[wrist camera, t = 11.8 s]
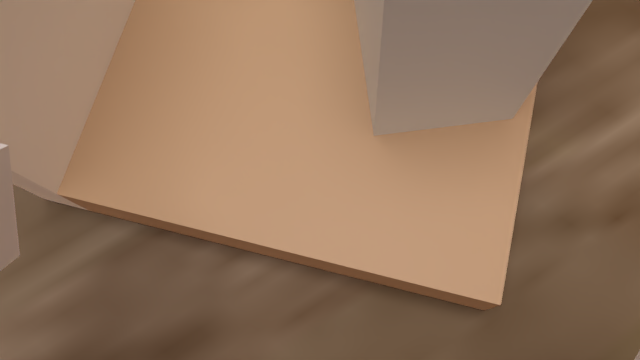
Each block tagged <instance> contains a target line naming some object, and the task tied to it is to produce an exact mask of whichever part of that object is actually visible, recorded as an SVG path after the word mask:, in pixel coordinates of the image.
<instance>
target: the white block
mask: <svg viewBox="0 0 640 360" xmlns="http://www.w3.org/2000/svg"><path fill="white" fill-rule="evenodd" d="M591 2H592V0H354V3H355V10H356V17H357V24H358V31H359V38H360V45H361V51H362V58H363V65H364V72H365V79H366V86H367V93H368V99H369V106H370V113H371V120H372V127H373V134H374V136H376V135H384V134H392V133H400V132H408V131H416V130H425V129H433V128H441V127H449V126H457V125H465V124H473V123H481V122H490V121H498V120H506V119H513V117H514V116H515V114H516V113H517V111H518V110H519V108H520V107H521V105H522V104H523V103H524V101H525V100H526V98H527V97H528V95H529V94H530V92H531V91H532V89H533V88H534V86H535V85H536V83H537V82H538V80H539V79H540V77H541V76H542V74H543V73H544V71H545V70H546V68H547V67H548V65H549V64H550V63H551V61H552V60H553V58H554V57H555V55H556V54H557V52H558V51H559V49H560V48H561V46H562V45H563V43H564V42H565V40H566V39H567V37H568V36H569V34H570V33H571V31H572V30H573V28H574V27H575V26H576V24H577V23H578V21H579V20H580V18H581V17H582V15H583V14H584V12H585V11H586V9H587V8H588V6H589V5H590V3H591Z"/></svg>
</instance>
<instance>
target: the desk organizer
mask: <svg viewBox="0 0 640 360" xmlns="http://www.w3.org/2000/svg"><path fill="white" fill-rule="evenodd" d="M536 88H537V83H536V85H535V86H534V88H533V89H532V91H531V92H530V94H529V95H528V97H527V98H526V100H525V101H524V103H523V104H522V105H521V107H520V108H519V110H518V111H517V113H516V114H515V116H514V117H513V119H506V120H498V121H490V122H481V123H473V124H465V125H457V126H449V127H441V128H433V129H425V130H416V131H408V132H400V133H392V134H384V135H376V136H374V134H373V127H372V120H371V113H370V106H369V99H368V93H367V86H366V79H365V72H364V65H363V58H362V51H361V45H360V38H359V31H358V24H357V17H356V10H355V3H354V0H0V143H1V144H5V145H9V154H10V164H11V174H12V183H13V184H14V185H16V186H18V187H20V188H22V189H24V190H26V191H28V192H30V193H32V194H35V195H37V196H39V197H41V198H43V199H45V200H49V201H53V202H57V203H61V204H65V205H69V206H73V207H77V208H81V209H85V210H89V211H93V212H97V213H101V214H105V215H109V216H113V217H116V218H120V219H124V220H128V221H132V222H136V223H140V224H144V225H148V226H152V227H156V228H160V229H164V230H168V231H172V232H176V233H180V234H184V235H188V236H192V237H196V238H200V239H203V240H207V241H211V242H215V243H219V244H223V245H227V246H231V247H235V248H239V249H243V250H247V251H251V252H255V253H259V254H263V255H267V256H271V257H275V258H279V259H283V260H287V261H290V262H294V263H298V264H302V265H306V266H310V267H314V268H318V269H322V270H326V271H330V272H334V273H338V274H342V275H346V276H350V277H354V278H358V279H362V280H366V281H370V282H373V283H377V284H381V285H385V286H389V287H393V288H397V289H401V290H405V291H409V292H413V293H417V294H421V295H425V296H429V297H433V298H437V299H441V300H445V301H449V302H453V303H457V304H460V305H464V306H468V307H472V308H476V309H480V310H487V309H490V308H494V307H497V306H500V305H501V301H502V295H503V289H504V283H505V277H506V271H507V264H508V258H509V252H510V246H511V240H512V234H513V228H514V222H515V216H516V210H517V204H518V198H519V192H520V186H521V179H522V173H523V167H524V161H525V155H526V149H527V143H528V137H529V131H530V125H531V119H532V113H533V107H534V100H535V94H536Z"/></svg>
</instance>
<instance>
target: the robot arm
mask: <svg viewBox="0 0 640 360" xmlns="http://www.w3.org/2000/svg"><path fill="white" fill-rule="evenodd" d="M19 256H20V251H19V241H18V232H17V222H16V212H15V203H14V193H13V183H12V174H11V164H10V154H9V145H5V144H1V143H0V271H1V270H2V269H4V268H5V267H6V266H7V265H9V264H10V263H11V262H12V261H14V260H15V259H16V258H17V257H19ZM635 360H640V351H639V352H638V354H637V356H636V358H635Z"/></svg>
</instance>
